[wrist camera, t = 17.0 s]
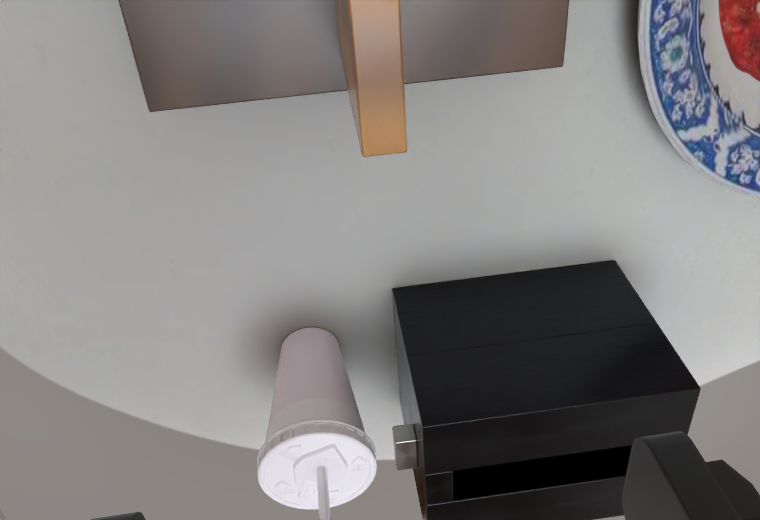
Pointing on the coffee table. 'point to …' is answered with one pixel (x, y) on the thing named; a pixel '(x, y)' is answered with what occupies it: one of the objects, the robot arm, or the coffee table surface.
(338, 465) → the smoothie
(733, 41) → the ceramic plate
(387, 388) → the coffee table surface
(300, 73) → the cutting board
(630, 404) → the toaster
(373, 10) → the toast
